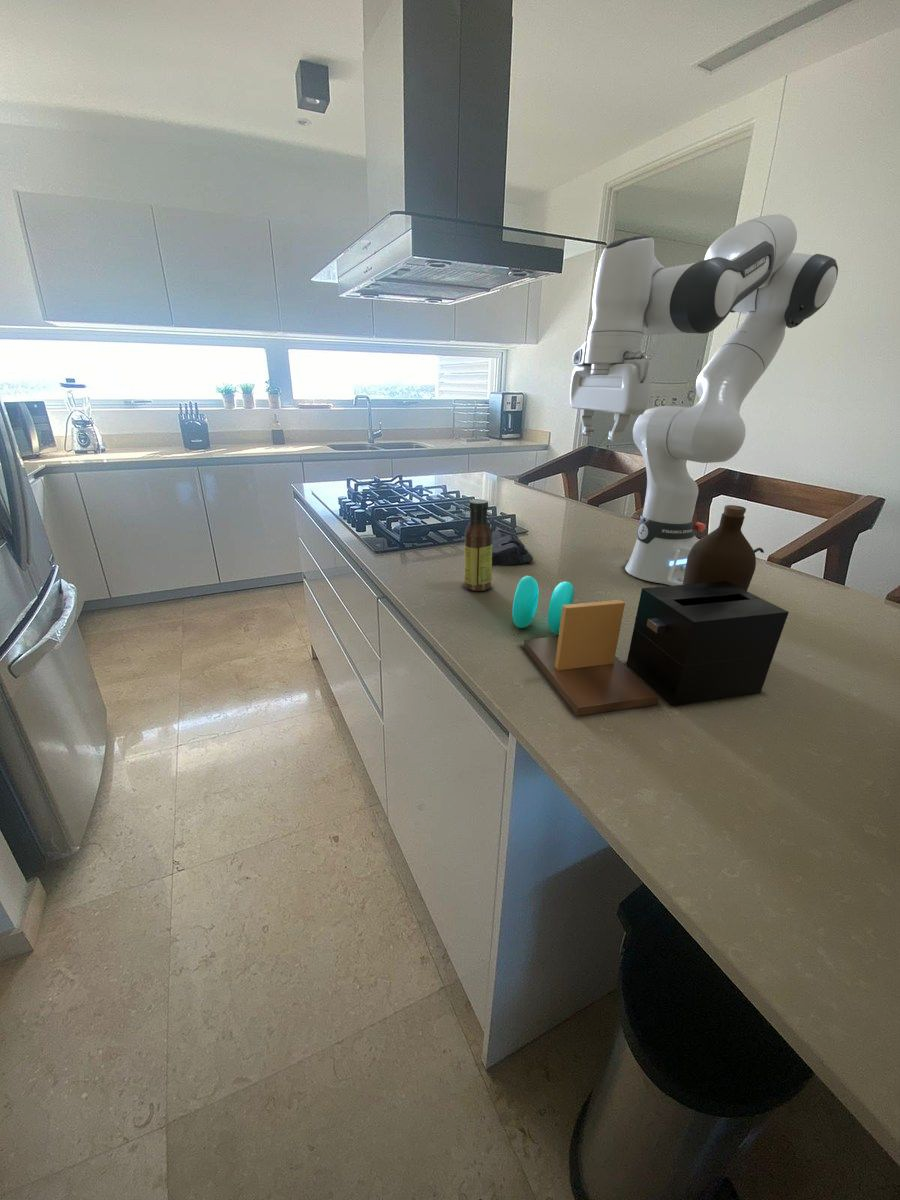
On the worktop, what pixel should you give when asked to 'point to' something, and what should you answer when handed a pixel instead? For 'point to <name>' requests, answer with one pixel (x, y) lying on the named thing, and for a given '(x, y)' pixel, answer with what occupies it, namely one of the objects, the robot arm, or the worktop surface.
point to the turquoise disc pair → (528, 603)
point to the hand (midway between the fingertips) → (600, 438)
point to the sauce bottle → (478, 548)
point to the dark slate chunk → (508, 549)
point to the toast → (588, 634)
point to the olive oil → (722, 553)
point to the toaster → (704, 641)
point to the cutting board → (591, 682)
